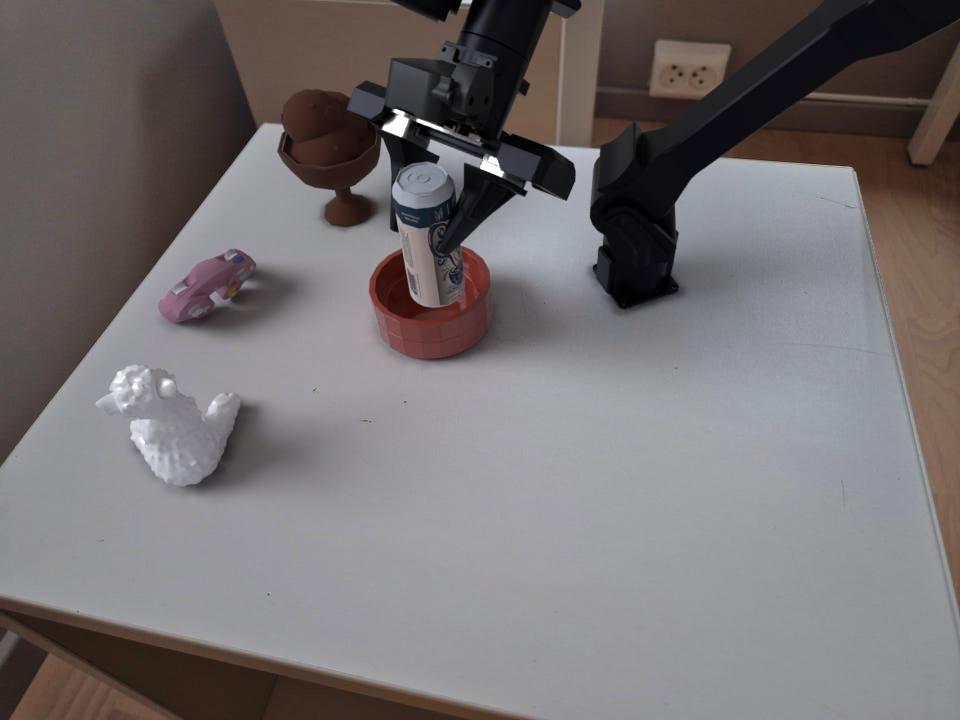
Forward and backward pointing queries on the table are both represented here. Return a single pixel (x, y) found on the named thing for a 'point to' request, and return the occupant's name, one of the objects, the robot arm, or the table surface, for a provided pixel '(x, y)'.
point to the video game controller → (207, 285)
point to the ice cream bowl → (330, 150)
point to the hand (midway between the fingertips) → (418, 242)
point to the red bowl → (430, 310)
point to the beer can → (428, 233)
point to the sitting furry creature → (171, 423)
